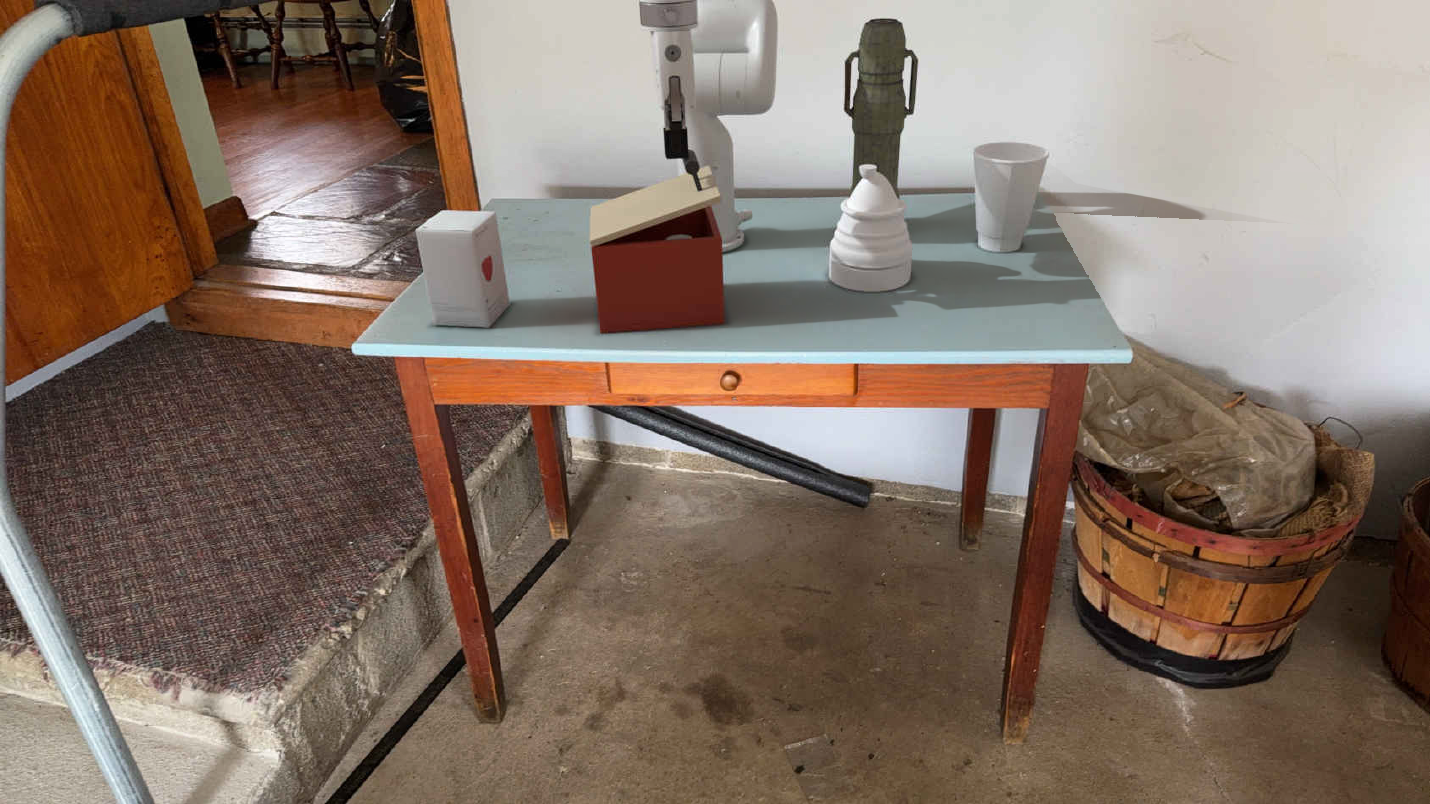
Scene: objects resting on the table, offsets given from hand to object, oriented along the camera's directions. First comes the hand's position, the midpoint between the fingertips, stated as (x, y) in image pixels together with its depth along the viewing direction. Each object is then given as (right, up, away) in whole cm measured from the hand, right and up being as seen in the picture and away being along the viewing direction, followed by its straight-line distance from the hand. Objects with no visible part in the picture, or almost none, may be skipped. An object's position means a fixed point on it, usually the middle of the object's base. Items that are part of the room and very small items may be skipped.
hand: (676, 156), depth 129 cm
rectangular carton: (-31, -21, +11) cm, 39 cm away
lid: (-3, -6, +3) cm, 8 cm away
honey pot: (+30, -14, +19) cm, 38 cm away
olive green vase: (+34, -3, +39) cm, 52 cm away
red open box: (-3, -20, +11) cm, 23 cm away
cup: (+54, -8, +29) cm, 62 cm away
